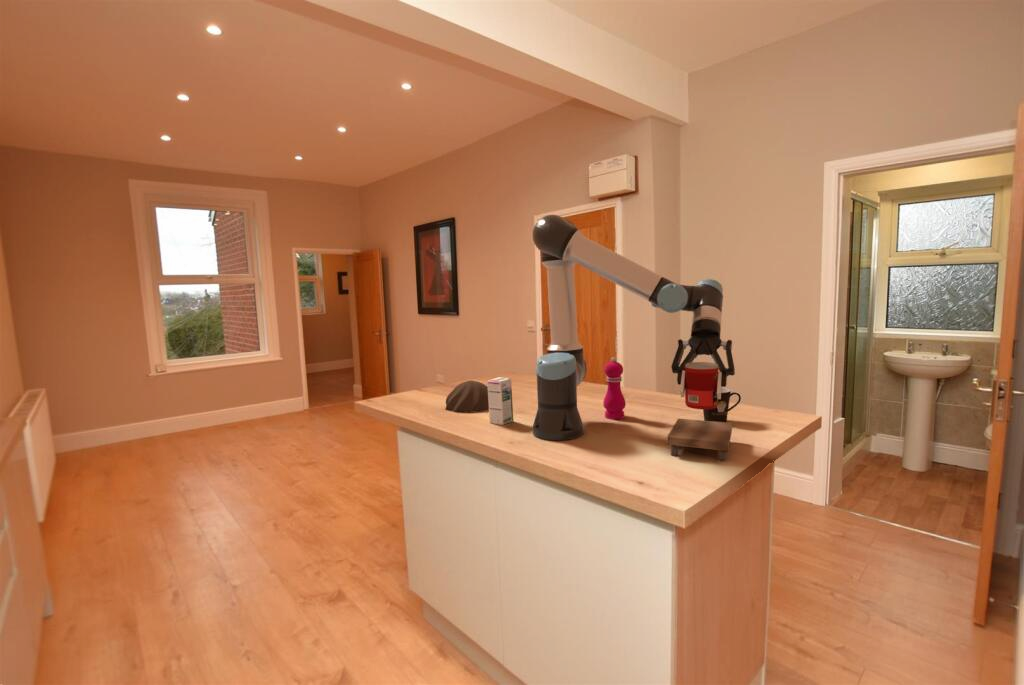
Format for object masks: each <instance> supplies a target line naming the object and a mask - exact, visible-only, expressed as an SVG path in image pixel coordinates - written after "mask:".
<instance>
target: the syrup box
mask: <svg viewBox="0 0 1024 685" xmlns="http://www.w3.org/2000/svg"><path fill="white" fill-rule="evenodd" d="M486 383H487V387H488V402H489V409H488V414H489V415H488V417H489V423H490V424H494V425H500V426H504V425H506V424H508V423H511V422H512V423H513V422H514V410H513V407H514V406H513V392H512V391H513V390H512V386H513V385H512V378H510V377H505V376H503V377H499V376H498V377H494V378H492V379H488V380H487V382H486Z"/></svg>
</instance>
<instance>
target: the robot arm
mask: <svg viewBox="0 0 1024 685" xmlns="http://www.w3.org/2000/svg"><path fill="white" fill-rule="evenodd" d="M532 240H533V243H534V245H535V247H536V248H537V250H539V251H540V258H541V259H540V260H541V264H542V265H543V266H544V267H545V268H546V277H547V278H546V279H547V295H548V298H547V299H548V308H549V309H548V311H549V312H548V314H549V328H550V331H549V332H550V342H551V343H550V344H549V346H547V348H546V354H542V355H541V356H539V357H538V358H537V360H536V366H535V371H536V383H537V386H536V387H537V388H536V391H537V411H536V414H535V418H534V420H533V421H534V422H533V424H532V434H533V435H534V436H535V437H536V438H538V439H541V440H548V441H566V440H567V441H568V440H573V439H577V438H580V437H582V436H583V435H584V434H585V433H584V431H585V428H584V423H583V420H582V417H581V415H580V412H579V408H578V395H577V394H578V393H577V392H578V390H577V389H578V386H579V385H581V383H582V382H584V380H585V378H586V375H587V368H588V366H587V361H586V360H585V357H584V347H583V345H582V344H581V343H580V342H579V336H578V334H579V333H578V319H577V317H578V316H577V301H576V300H577V299H576V297H577V296H576V284H575V283H576V282H575V265H576V264H577V265H579V266H581V267H583V268H585V269H586V270H588V271H591V272H592V273H594V274H596V275H599V276H601V277H602V278H603V279H606V280H608V281H610V282H612V283H613V284H615V285H617V286H619V287H621V288H623V289H625V290H627V291H628V292H631V293H633V294H635V295H637V296H638V297H640V298H642V299H644V300H646V301H648V302H649V303H651V306H652V307H654V308H657V309H660V310H662V311H664V312H667V313H670V314H674V313H678V312H680V311H681V312H682V311H685V312H692V319H691V320H692V321H691V322H692V323H691V331H690V336H689V338H688V340H683V339H681V338H680V339H678V340H677V344H678V346H677V349H676V353H675V354H674V358H673V361H672V363H671V373H672V374H677V377H676V382H677V384H678V385H680V386H679V389H680V390H679V394H680V397H681V398H685V364H687V363H692V362H694V360H695V359H697V357H698V356H702V355H705V356H711V358H712V359H713V362H714V363H715V364H718V384H717V399H721V387H722V388H727V380H728V377H729V376H734V375H736V373H735V372H736V371H735V364H734V358H733V353H732V349H733V341H732V340H731V339H728V340H727V341H725V340H722V339H721V331H722V330H721V329H722V328H721V326H722V315H723V314H722V312H723V300H724V293H723V290H724V288H723V285H722V284H721V283H720V282H719V281H718V280H715V279H712V278H708V279H702V280H700V281H699V282H698V283H697V284H696V285H686V284H679V283H676V282H674V281H671V280H670V279H668V278H666V277H664V276H662V275H660V274H658V273H656V272H655V271H653V270H650V269H649V268H647V267H645V266H643V265H641V264H639V263H637V262H635V261H633V260H631V259H628V258H627V257H625V256H623V255H621V254H619V253H617V252H615V251H614V250H611V249H609V248H608V247H606V246H603V245H602V244H601V243H597V242H596V241H594V240H591V239H590V238H588V237H586V236H584V235H583V234H582V231H581V229H579V228H577V227H576V225H575V224H574V223H573V222H572V221H570V220H568V219H566V218H564V217H562V216H560V215H558V214H549V215H547V214H546V215H544V216H543V217H541V218H539V219H538V221H537V222H536V223H535V225H534V226H533V229H532ZM688 346H689V349H690V350H689V352H688V353H687V355H686V356H685V358H684V359H683V360H682V358H683V355H684V352H685V351H684V350H686V349H687V348H688ZM721 347H722V349H723V350H724V351H725V356H726V362H727V366H728V367H726V366H725V364H724V362H723V360H722V358H721V356H720V354H719V352H718V349H720V348H721ZM681 361H682V362H681Z"/></svg>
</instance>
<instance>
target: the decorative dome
mask: <svg viewBox="0 0 1024 685" xmlns="http://www.w3.org/2000/svg"><path fill="white" fill-rule="evenodd" d="M445 405H446V406H445V410H446V411H452V412H453V413H468V414H469V413H475V412H484V411H489V402H488V385H486V384H485V383H482V382H479V381H476V380H472V379H471V380H466V381H463V382H461V383H459V384H458V385H456V386H455V387H454V388H453V390H451V392H449V394H448V395H447V396H446V399H445Z"/></svg>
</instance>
